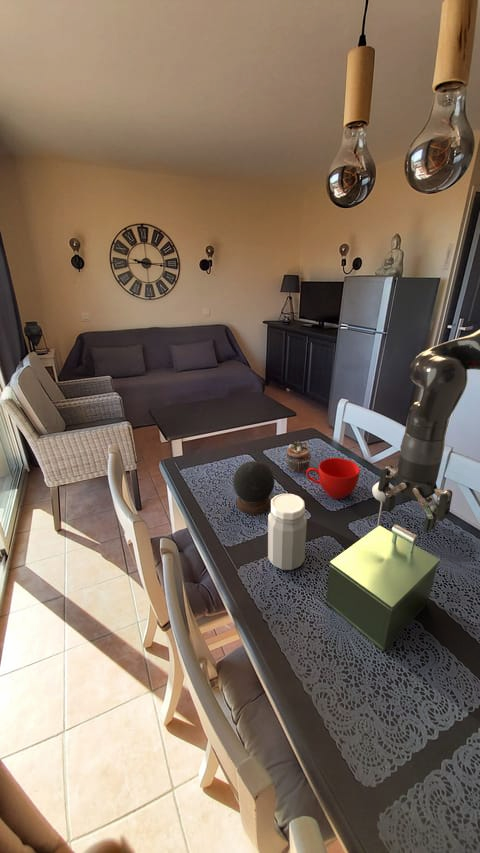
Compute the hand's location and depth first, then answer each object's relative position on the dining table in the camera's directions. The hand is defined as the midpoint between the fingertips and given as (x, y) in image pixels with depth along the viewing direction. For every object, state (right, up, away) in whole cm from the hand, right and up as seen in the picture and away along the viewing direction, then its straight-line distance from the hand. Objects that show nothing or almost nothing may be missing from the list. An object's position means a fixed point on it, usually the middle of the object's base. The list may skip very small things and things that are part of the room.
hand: (407, 519), depth 78 cm
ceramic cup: (-5, -2, +44) cm, 45 cm away
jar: (-24, -15, +18) cm, 33 cm away
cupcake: (-14, +5, +61) cm, 62 cm away
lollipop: (+5, -9, +28) cm, 30 cm away
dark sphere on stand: (-32, -5, +40) cm, 51 cm away
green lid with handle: (-5, -9, -1) cm, 11 cm away
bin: (-5, -20, +4) cm, 21 cm away
